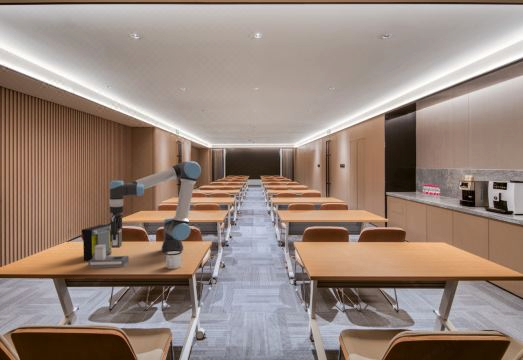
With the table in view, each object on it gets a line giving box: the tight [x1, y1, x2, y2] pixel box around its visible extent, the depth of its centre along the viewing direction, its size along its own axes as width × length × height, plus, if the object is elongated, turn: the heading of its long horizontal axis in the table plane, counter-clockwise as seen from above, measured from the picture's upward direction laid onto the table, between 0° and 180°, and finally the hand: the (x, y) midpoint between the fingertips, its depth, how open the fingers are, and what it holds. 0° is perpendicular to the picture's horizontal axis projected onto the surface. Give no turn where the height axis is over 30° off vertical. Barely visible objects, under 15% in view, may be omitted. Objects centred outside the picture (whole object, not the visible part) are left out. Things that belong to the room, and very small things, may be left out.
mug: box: [164, 250, 183, 270], centre depth 181 cm, size 12×10×9 cm
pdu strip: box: [87, 255, 130, 269], centre depth 186 cm, size 20×9×4 cm, turn 96°
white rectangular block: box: [95, 245, 106, 260], centre depth 186 cm, size 5×5×11 cm
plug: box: [111, 227, 123, 249], centre depth 186 cm, size 5×5×11 cm
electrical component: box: [80, 224, 113, 262], centre depth 202 cm, size 18×10×20 cm, turn 168°
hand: (116, 244), depth 186 cm, fingers closed on plug, 4 cm apart
